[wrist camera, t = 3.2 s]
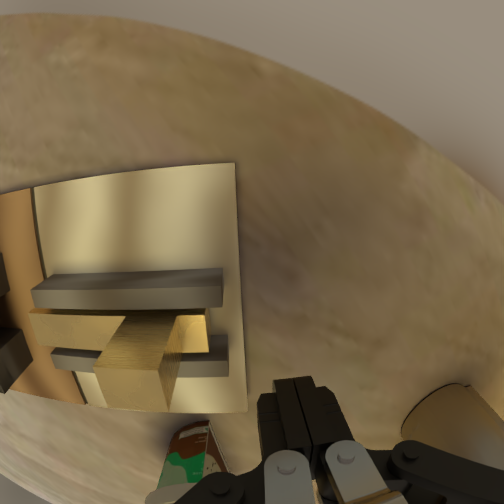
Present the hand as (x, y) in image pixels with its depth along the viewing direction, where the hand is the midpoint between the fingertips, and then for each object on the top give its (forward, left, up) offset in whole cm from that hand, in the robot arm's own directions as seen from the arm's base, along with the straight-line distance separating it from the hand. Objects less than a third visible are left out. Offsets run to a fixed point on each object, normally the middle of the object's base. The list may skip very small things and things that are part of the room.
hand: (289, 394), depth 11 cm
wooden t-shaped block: (+10, 0, -8) cm, 12 cm away
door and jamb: (+14, 0, -10) cm, 17 cm away
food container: (+8, +17, -11) cm, 21 cm away
